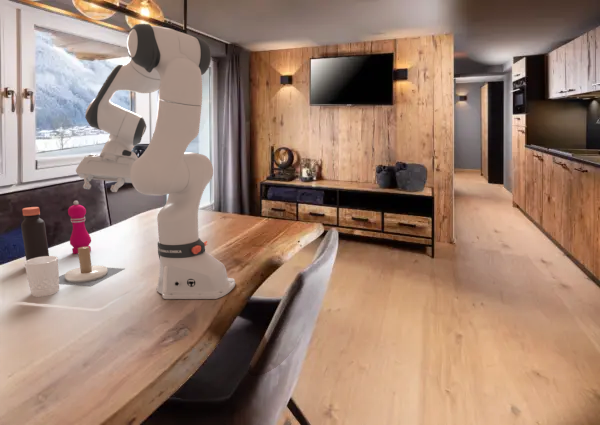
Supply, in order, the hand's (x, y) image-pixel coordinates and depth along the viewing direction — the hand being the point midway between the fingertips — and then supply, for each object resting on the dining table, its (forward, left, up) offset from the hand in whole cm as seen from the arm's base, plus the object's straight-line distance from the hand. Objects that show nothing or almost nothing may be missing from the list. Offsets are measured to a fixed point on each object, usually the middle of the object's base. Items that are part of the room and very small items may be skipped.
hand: (99, 189), depth 134 cm
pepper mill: (+22, -14, -27) cm, 37 cm away
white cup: (+2, +24, -27) cm, 36 cm away
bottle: (+26, +2, -27) cm, 37 cm away
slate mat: (0, +10, -26) cm, 28 cm away
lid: (0, +10, -26) cm, 28 cm away
